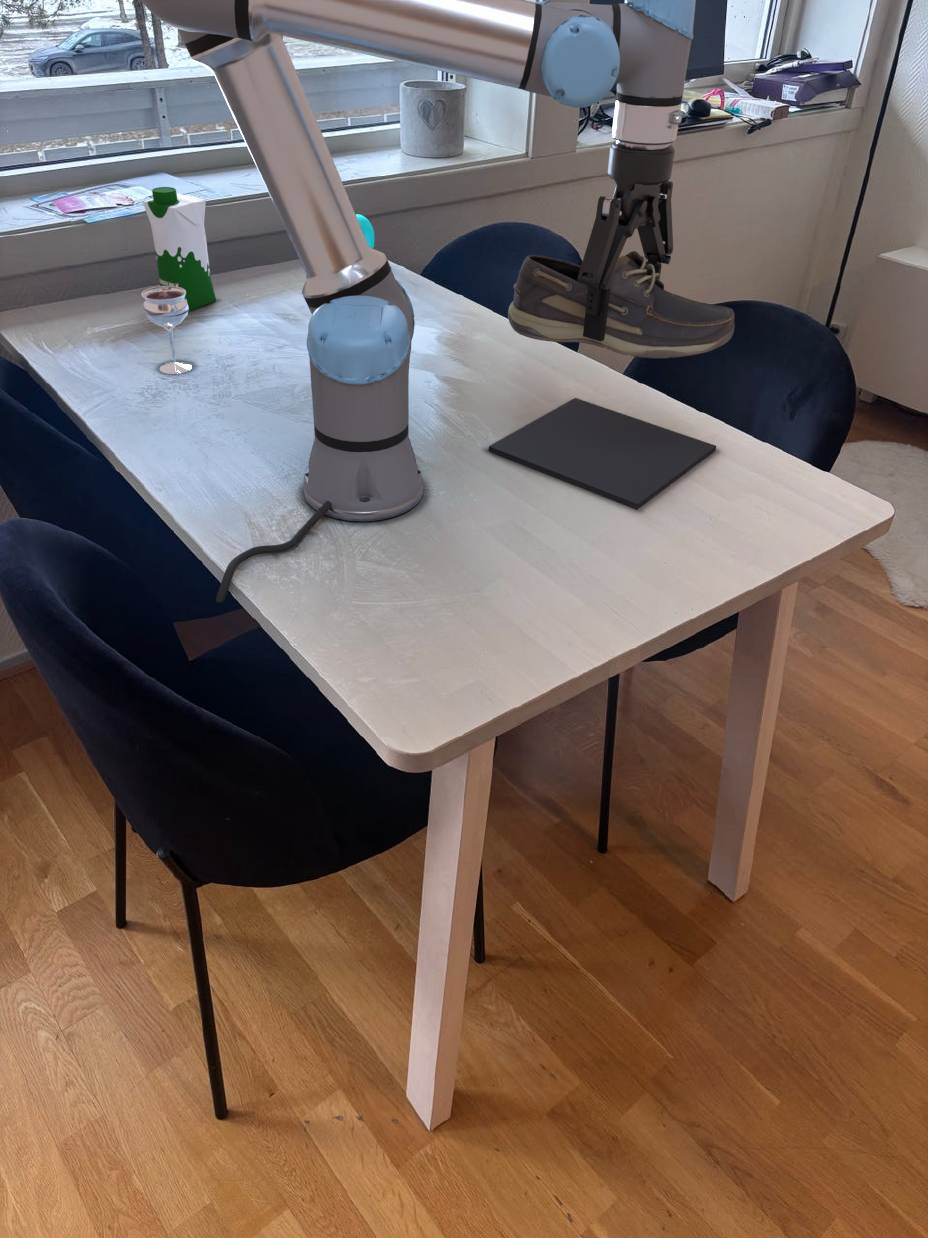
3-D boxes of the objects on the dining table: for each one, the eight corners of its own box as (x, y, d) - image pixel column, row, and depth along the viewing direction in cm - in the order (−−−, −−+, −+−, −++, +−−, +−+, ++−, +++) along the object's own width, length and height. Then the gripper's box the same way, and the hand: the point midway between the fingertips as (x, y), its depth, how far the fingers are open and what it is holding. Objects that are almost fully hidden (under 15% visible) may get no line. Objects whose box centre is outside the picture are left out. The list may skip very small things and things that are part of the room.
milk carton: (154, 303, 176) (135, 187, 164) (189, 290, 183) (174, 178, 171) (188, 313, 173) (172, 196, 161) (223, 300, 179) (210, 186, 167)
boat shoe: (730, 369, 119) (748, 282, 112) (498, 344, 123) (503, 259, 116) (728, 339, 127) (745, 256, 121) (512, 317, 131) (517, 235, 125)
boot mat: (637, 509, 122) (637, 504, 122) (488, 451, 134) (488, 445, 133) (715, 450, 136) (716, 445, 136) (574, 402, 148) (575, 397, 147)
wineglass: (145, 373, 151) (132, 297, 144) (166, 357, 156) (154, 283, 149) (185, 378, 150) (173, 302, 143) (204, 362, 155) (194, 288, 148)
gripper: (616, 163, 102) (594, 358, 115) (719, 133, 117) (689, 308, 130) (558, 152, 105) (542, 342, 118) (665, 124, 121) (641, 295, 134)
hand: (619, 325), depth 124 cm, fingers closed on boat shoe, 12 cm apart
